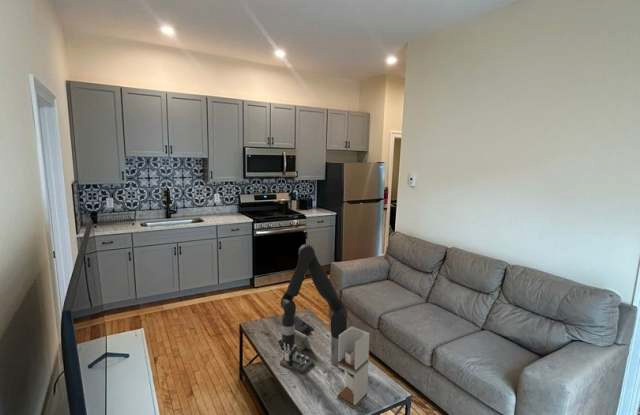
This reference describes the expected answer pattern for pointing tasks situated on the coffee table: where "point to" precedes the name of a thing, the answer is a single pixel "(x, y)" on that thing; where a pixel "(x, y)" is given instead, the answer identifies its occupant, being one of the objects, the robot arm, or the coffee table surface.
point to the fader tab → (287, 355)
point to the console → (298, 362)
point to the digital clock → (301, 341)
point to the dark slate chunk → (302, 326)
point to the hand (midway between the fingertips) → (288, 358)
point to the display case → (354, 365)
